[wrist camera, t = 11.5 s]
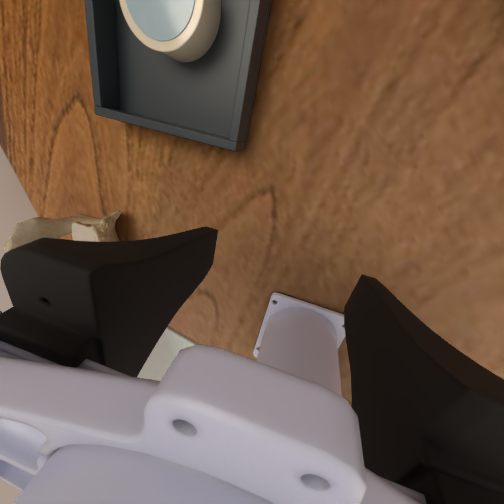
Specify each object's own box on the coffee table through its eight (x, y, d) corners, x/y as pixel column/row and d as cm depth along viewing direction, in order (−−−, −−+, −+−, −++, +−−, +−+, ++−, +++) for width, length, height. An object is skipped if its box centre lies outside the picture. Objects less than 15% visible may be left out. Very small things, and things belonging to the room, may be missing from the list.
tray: (245, 149, 19) (235, 151, 17) (118, 116, 20) (94, 114, 18) (300, -152, 12) (296, -215, 10) (104, -172, 13) (61, -231, 11)
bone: (157, 242, 23) (46, 321, 18) (151, 259, 28) (65, 322, 23) (92, 171, 22) (-44, 232, 17) (98, 202, 27) (-3, 255, 22)
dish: (215, 70, 17) (198, 59, 14) (145, 54, 17) (117, 42, 15) (227, -43, 14) (209, -78, 12) (144, -57, 15) (111, -92, 12)
